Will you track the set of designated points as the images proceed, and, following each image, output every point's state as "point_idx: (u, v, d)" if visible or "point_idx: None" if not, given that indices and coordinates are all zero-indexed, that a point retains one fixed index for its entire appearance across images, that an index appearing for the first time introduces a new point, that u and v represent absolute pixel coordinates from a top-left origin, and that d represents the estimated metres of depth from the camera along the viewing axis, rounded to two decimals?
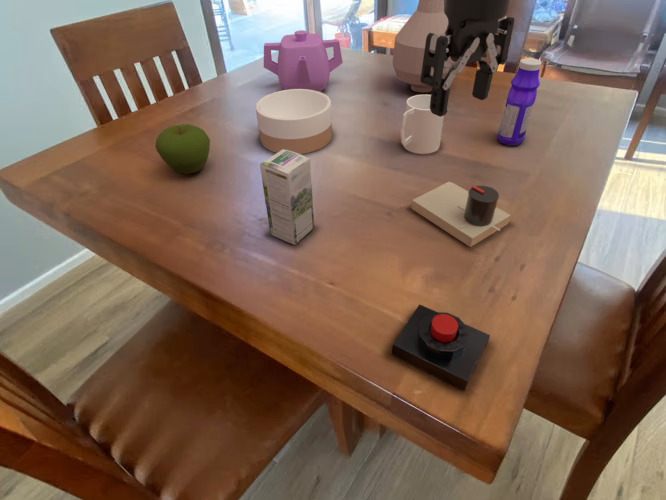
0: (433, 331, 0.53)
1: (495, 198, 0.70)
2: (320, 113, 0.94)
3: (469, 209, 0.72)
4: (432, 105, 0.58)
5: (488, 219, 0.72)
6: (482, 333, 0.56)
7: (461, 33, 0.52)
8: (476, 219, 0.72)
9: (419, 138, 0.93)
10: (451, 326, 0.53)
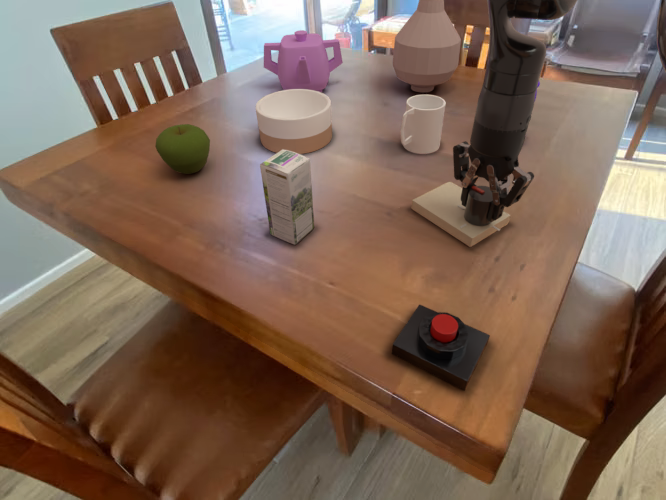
0: (433, 331, 0.53)
1: None
2: (320, 113, 0.94)
3: (469, 209, 0.72)
4: None
5: None
6: (482, 333, 0.56)
7: (471, 148, 0.68)
8: (476, 219, 0.72)
9: (419, 138, 0.93)
10: (451, 326, 0.53)
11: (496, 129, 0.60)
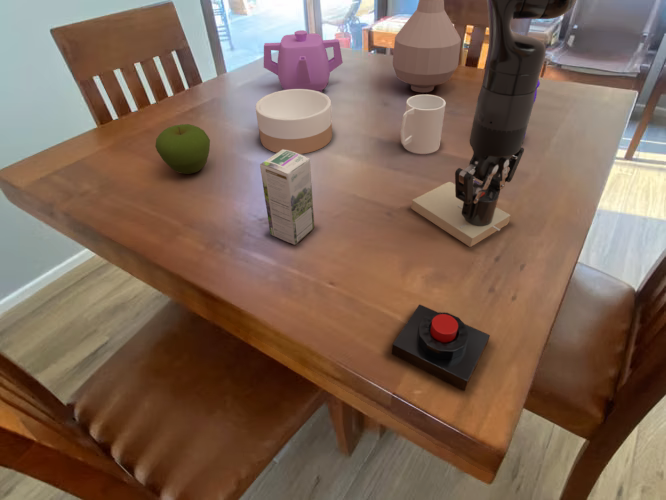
0: (433, 331, 0.53)
1: (489, 187, 0.72)
2: (320, 113, 0.94)
3: (491, 212, 0.71)
4: (463, 212, 0.71)
5: None
6: (482, 333, 0.56)
7: (484, 163, 0.64)
8: (493, 214, 0.73)
9: (419, 138, 0.93)
10: (451, 326, 0.53)
11: None
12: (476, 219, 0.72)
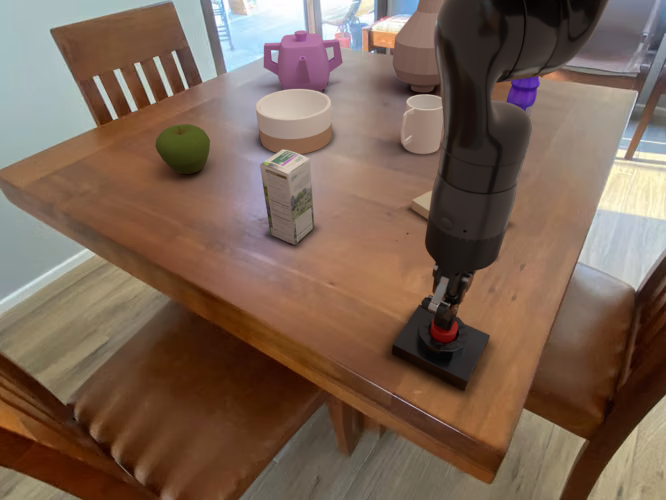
0: (433, 332, 0.54)
1: None
2: (320, 113, 0.94)
3: None
4: (438, 323, 0.52)
5: None
6: (482, 333, 0.56)
7: (456, 280, 0.44)
8: None
9: (419, 138, 0.93)
10: None
11: None
12: None
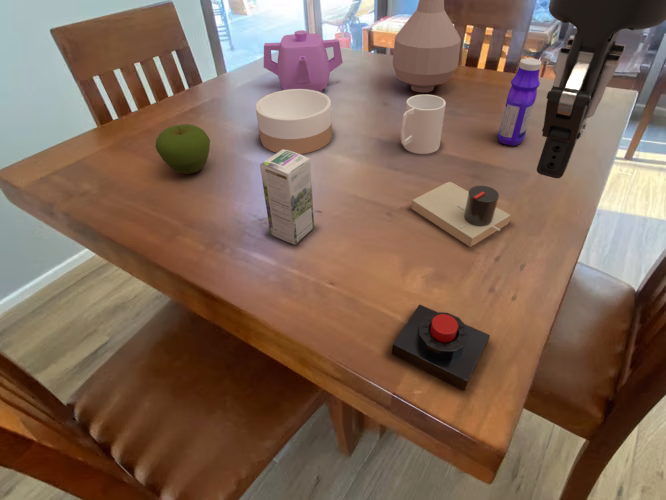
0: (433, 331, 0.53)
1: (490, 187, 0.72)
2: (320, 113, 0.94)
3: (491, 212, 0.71)
4: (547, 164, 0.37)
5: None
6: (482, 333, 0.56)
7: (606, 52, 0.29)
8: (493, 214, 0.73)
9: (419, 138, 0.93)
10: (451, 326, 0.53)
11: None
12: (476, 219, 0.72)
